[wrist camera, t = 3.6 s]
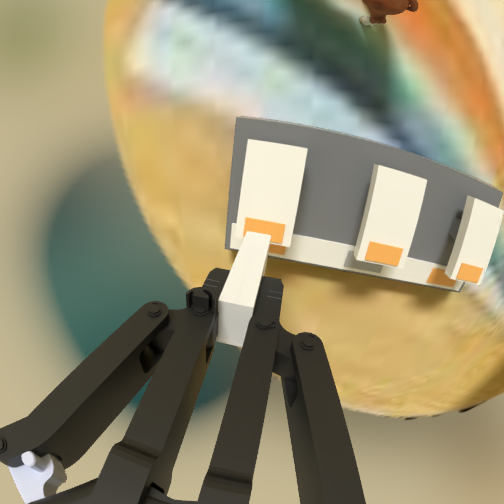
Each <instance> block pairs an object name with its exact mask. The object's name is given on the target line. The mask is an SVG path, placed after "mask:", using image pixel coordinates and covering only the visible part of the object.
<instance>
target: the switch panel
mask: <svg viewBox="0 0 504 504" xmlns="http://www.w3.org/2000/svg"><path fill="white" fill-rule="evenodd" d="M248 139H252V140H259V141H266V142H273V143H279V144H285V145H291V146H297V147H303V148H308V150H307V156H306V162H305V168H304V174H303V179H302V185H301V191H300V196H299V202H298V207H297V213H296V218H295V223H294V229H293V234H292V239H291V244H290V247H286V246H281V245H276V244H270V246H269V252H268V257H271V258H276V259H282V260H287V261H292V262H298V263H303V264H308V265H314V266H319V267H324V268H330V269H335V270H341V271H346V272H351V273H357V274H362V275H367V276H373V277H378V278H384V279H389V280H394V281H400V282H405V283H411V284H416V285H421V286H427V287H432V288H438V289H443V290H449V291H454V292H459V293H460V291H461V289H462V288H463V286H464V284H465V282H463V281H458V280H453V279H450V278H449V277H448V276H447V275H446V274H445V270H446V267H447V265H448V262H449V259H450V256H451V253H452V250H453V247H454V244H455V240H456V237H457V234H458V230H459V227H460V223H461V220H462V216H463V212H464V208H465V204H466V199H467V195H468V196H471V197H474V198H477V199H479V200H481V201H484V202H486V203H488V204H490V205H493V206H495V207H497V208H498V207H499V204H500V201H501V198H502V195H503V192H501V191H500V190H498V189H497V188H495V187H494V186H492V185H490V184H488V183H486V182H484V181H482V180H480V179H477V178H475V177H473V176H471V175H469V174H466V173H464V172H462V171H459V170H457V169H454V168H452V167H450V166H447V165H445V164H442V163H439V162H437V161H434V160H432V159H429V158H426V157H423V156H421V155H418V154H415V153H412V152H409V151H406V150H403V149H400V148H396V147H393V146H390V145H387V144H383V143H380V142H376V141H373V140H369V139H365V138H361V137H358V136H354V135H350V134H345V133H341V132H337V131H332V130H328V129H323V128H318V127H313V126H308V125H302V124H296V123H291V122H284V121H278V120H271V119H263V118H255V117H246V116H240V117H236V125H235V135H234V145H233V156H232V166H231V177H230V189H229V201H228V213H227V226H226V239H225V249H228V250H234V251H239V249H240V247H241V244H242V242H243V240H244V239H243V238H238V237H235V231H236V223H237V216H238V208H239V200H240V193H241V185H242V178H243V171H244V164H245V156H246V149H247V142H248ZM374 164H376V165H381V166H384V167H388V168H391V169H395V170H398V171H401V172H405V173H408V174H411V175H414V176H417V177H420V178H423V179H426V180H427V184H426V188H425V193H424V197H423V202H422V206H421V210H420V214H419V218H418V222H417V225H416V229H415V232H414V236H413V239H412V243H411V246H410V249H409V252H408V256H407V259H406V262H405V265H404V268H403V269H400V268H395V267H390V266H385V265H380V264H375V263H370V262H365V261H359V260H356V258H355V256H354V250H355V246H356V243H357V239H358V235H359V231H360V227H361V223H362V219H363V215H364V210H365V206H366V202H367V197H368V192H369V188H370V183H371V178H372V173H373V167H374Z"/></svg>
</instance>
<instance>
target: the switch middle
mask: <svg viewBox="0 0 504 504" xmlns="http://www.w3.org/2000/svg"><path fill="white" fill-rule="evenodd" d="M426 184H427V180H426V179H423V178H420V177H417V176H414V175H411V174H408V173H405V172H401V171H398V170H395V169H391V168H388V167H384V166H381V165H376V164H374V167H373V173H372V178H371V183H370V188H369V192H368V197H367V202H366V206H365V210H364V215H363V219H362V223H361V227H360V231H359V235H358V239H357V243H356V246H355V250H354V256H355V258H356V260H359V261H365V262H370V263H375V264H380V265H385V266H390V267H395V268H400V269H403V268H404V265H405V262H406V259H407V256H408V252H409V249H410V246H411V243H412V239H413V236H414V232H415V229H416V225H417V222H418V218H419V214H420V210H421V206H422V202H423V197H424V193H425V188H426Z"/></svg>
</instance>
